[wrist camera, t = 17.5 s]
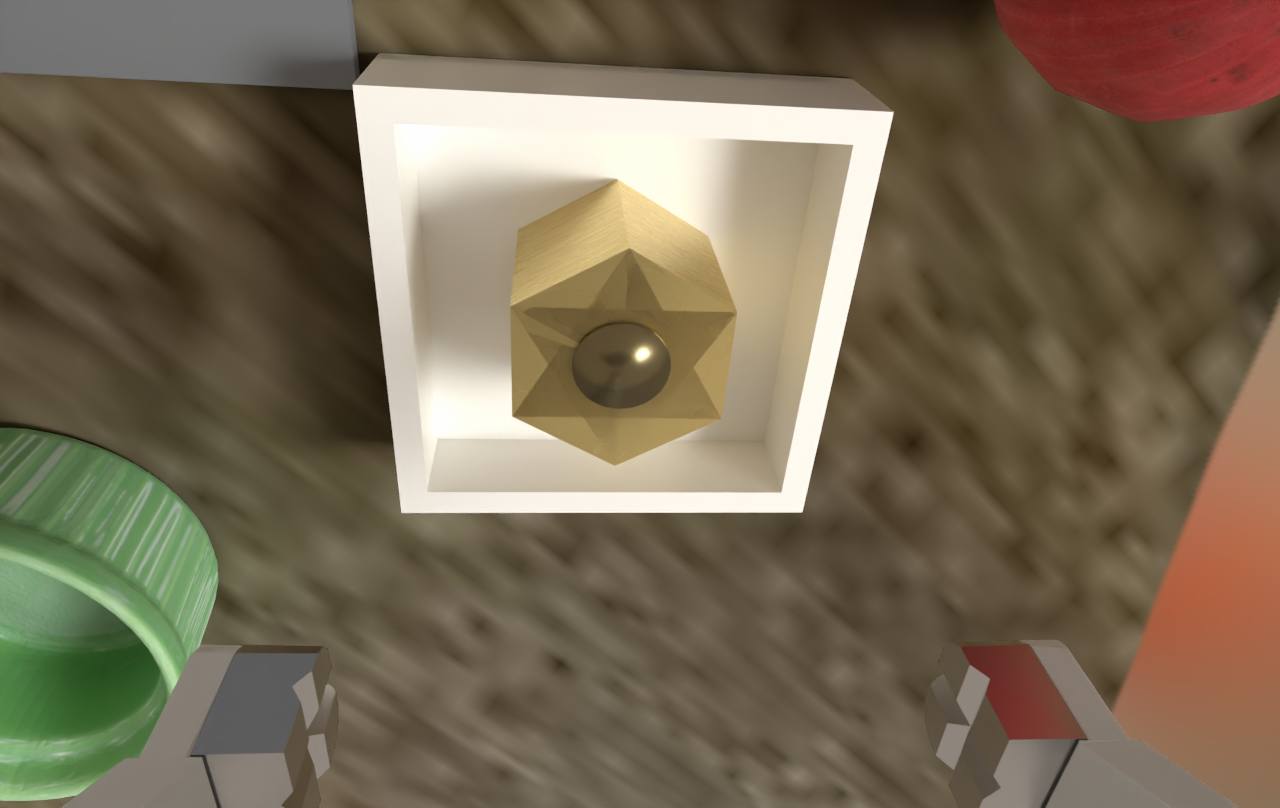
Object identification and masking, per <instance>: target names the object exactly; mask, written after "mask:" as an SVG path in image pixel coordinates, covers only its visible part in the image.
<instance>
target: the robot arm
mask: <svg viewBox="0 0 1280 808" xmlns="http://www.w3.org/2000/svg"><path fill="white" fill-rule="evenodd" d="M938 662H939V665H940V667H941V669H942V671H943V674H942V675H941V676H940V677H938V678H937V679H936V680H934V681H933V682H932V683H931V684H930V685H929V689H928V692H927V695H926V699H925V724H926V728H927V732H928V737H929V740H930V742H931V745H932V747H933V750H934V752H935V754H936V756H938V757H939V758H940V759H941V760H942V761H943V762H945V763H946V764H947V765H948V766H949V767H951V768H952V769H953V773H952V776H951V779H950V782H949V787H950V789H951V792H952V794H953V796H954V799H955V801H956V803H957V806H958V808H1240V807H1238V806H1237V805H1235V804H1234V803H1232V802H1231V801H1229V800H1228V799H1226V798H1225V797H1223V796H1222V795H1220V794H1219V793H1217V792H1216V791H1215V790H1213V789H1212V788H1210V787H1209V786H1207V785H1206V784H1204V783H1203V782H1201V781H1200V780H1198V779H1197V778H1195V777H1194V776H1193V775H1191V774H1190V773H1188V772H1187V771H1185V770H1184V769H1182V768H1181V767H1179V766H1178V765H1177V764H1175V763H1174V762H1172V761H1171V760H1169V759H1167V758H1166V757H1165V756H1163V755H1162V754H1160V753H1159V752H1157V751H1156V750H1154V749H1153V748H1152V747H1150V746H1149V745H1147V744H1146V743H1144V742H1143V741H1141V740H1129V738H1128V737H1127V735H1126V734H1125V733H1124V731H1123V729H1122V728H1121V727H1120V725H1119V723H1118V722H1117V721H1116V719H1115V718H1114V716H1113V715H1112V713H1111V712H1110V710H1109V709H1108V707H1107V706H1106V704H1105V703H1104V701H1103V700H1102V698H1101V697H1100V695H1099V694H1098V692H1097V691H1096V689H1095V688H1094V686H1093V685H1092V683H1091V682H1090V680H1089V679H1088V678H1087V676H1086V675H1085V673H1084V672H1083V670H1082V669H1081V667H1080V666H1079V664H1078V663H1077V661H1076V660H1075V658H1074V657H1073V655H1072V654H1071V652H1070V651H1069V649H1068V648H1067V647H1066V646H1065V645H1064V644H1063V643H1061V642H1060V641H1058V640H1021V641H1017V640H994V641H950V642H949V643H947V644H946V645H945V646H944V647H943V649H942V652H941V654H940V657H939V660H938ZM331 668H332V664H331V660H330V655H329V651H328V648H326V647H324V646H282V645H201V646H200V647H199V648H198V649H197V650H196V651H195V652H193V653H192V654H191V655H190V657H189V659H188V661H187V663H186V665H185V667H184V669H183V671H182V673H181V675H180V677H179V679H178V681H177V683H176V685H175V687H174V689H173V691H172V693H171V695H170V697H169V699H168V701H167V703H166V705H165V707H164V709H163V711H162V713H161V715H160V717H159V719H158V721H157V723H156V725H155V727H154V729H153V731H152V733H151V735H150V737H149V738H148V740H147V742H146V744H145V746H144V748H143V750H142V752H141V754H140V756H139V758H125V759H124V760H123V761H122V762H120V763H119V764H118V765H116V766H115V767H114V768H112V769H111V770H110V771H108V772H107V773H106V774H105V775H103V776H102V777H101V778H99V779H98V780H97V781H95V782H94V783H93V784H91V785H90V786H89V787H88V788H86V789H85V790H84V791H82V792H81V793H80V794H78V795H77V796H76V797H74V798H73V799H72V800H71V801H69V802H68V803H67V804H65V805H64V806H63V807H61V808H319V805H320V801H321V798H320V793H319V787H318V782H317V779H318V778H319V777H320V776H321V775H322V774H323V773H324V772H325V771H326V770H327V769H328V768H329V767H330V765H331V761H332V757H333V753H334V749H335V745H336V737H337V730H338V700H337V693H336V690H334V689H333V688H332V687H331V686H330V685H328V684H327V681H328V678H329V675H330V671H331Z"/></svg>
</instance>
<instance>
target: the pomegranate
mask: <svg viewBox="0 0 1280 808" xmlns="http://www.w3.org/2000/svg"><path fill="white" fill-rule="evenodd" d="M994 4H995V8H996V12H997V16H998V19H999V23H1000V27H1001V28H1002V29H1003V31H1004V32H1005V33H1006V35H1007V36H1008V37H1009V39H1010V40H1011V41H1012V43H1013V44H1014V45H1015V46H1016V47H1017V48H1018V49H1019V50H1020V52H1021V53H1022V54H1023V55H1024V56H1025V57H1026V58H1027V59H1028V61H1029V62H1030V63H1031V64H1032V66H1033V67H1034V68H1035V69H1036V70H1037V72H1038V73H1039V74H1040V75H1041V76H1042V77H1043V78H1044V79H1045V80H1046V81H1047V82H1048V83H1049V84H1050V85H1051V86H1052V87H1053V88H1054V89H1055V90H1057V91H1059V92H1062V93H1064V94H1067V95H1069V96H1072V97H1074V98H1076V99H1079V100H1081V101H1084V102H1086V103H1089V104H1091V105H1094V106H1096V107H1098V108H1101V109H1103V110H1106V111H1108V112H1111V113H1113V114H1116V115H1120V116H1123V117H1126V118H1130V119H1133V120H1137V121H1140V122H1152V121H1162V120H1172V119H1180V118H1187V117H1195V116H1202V115H1210V114H1217V113H1222V112H1228V111H1233V110H1239V109H1244V108H1247V107H1250V106H1252V105H1255V104H1257V103H1260V102H1262V101H1264V100H1267V99H1269V98H1272V97H1274V96H1276V95H1278V94H1280V0H994Z"/></svg>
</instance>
